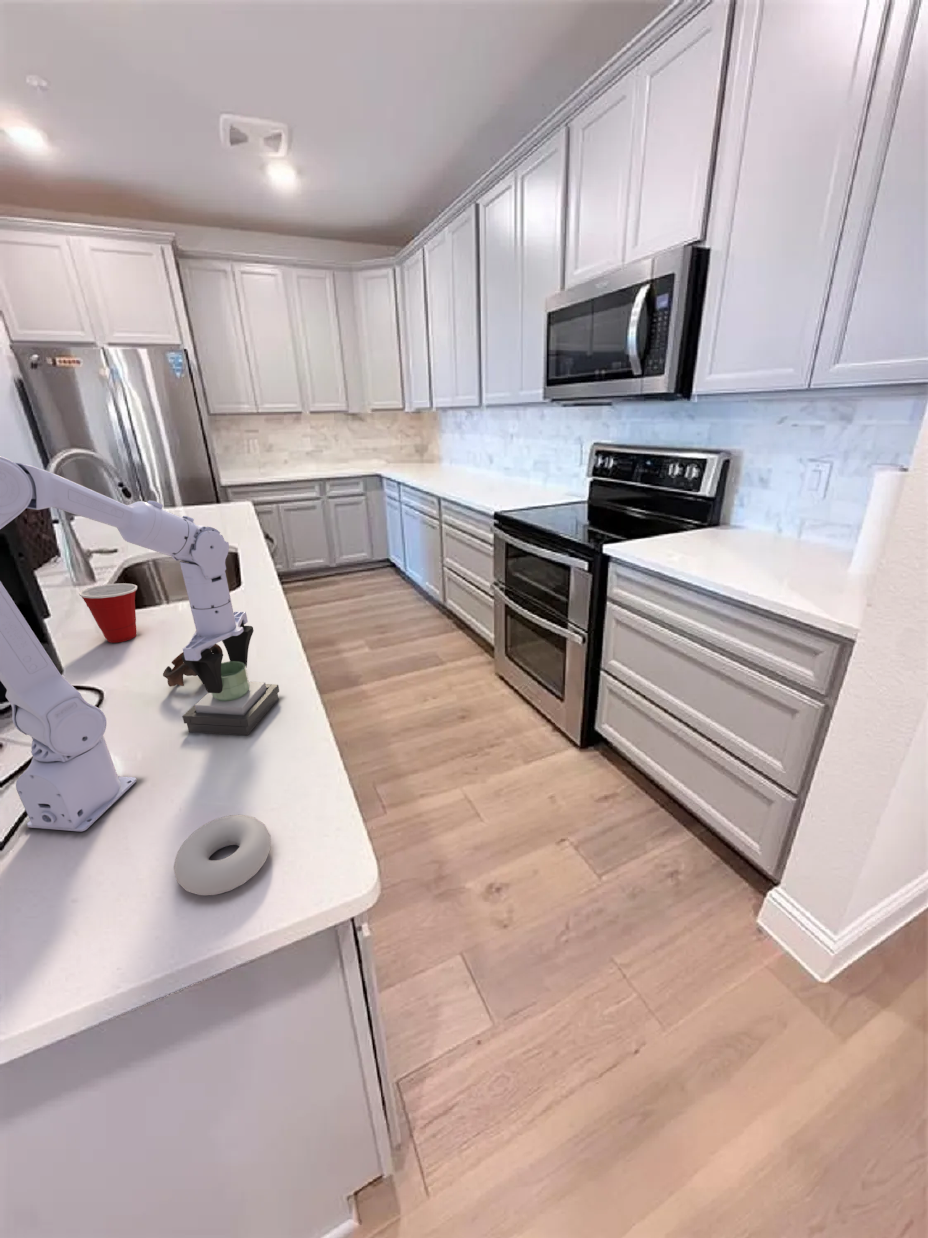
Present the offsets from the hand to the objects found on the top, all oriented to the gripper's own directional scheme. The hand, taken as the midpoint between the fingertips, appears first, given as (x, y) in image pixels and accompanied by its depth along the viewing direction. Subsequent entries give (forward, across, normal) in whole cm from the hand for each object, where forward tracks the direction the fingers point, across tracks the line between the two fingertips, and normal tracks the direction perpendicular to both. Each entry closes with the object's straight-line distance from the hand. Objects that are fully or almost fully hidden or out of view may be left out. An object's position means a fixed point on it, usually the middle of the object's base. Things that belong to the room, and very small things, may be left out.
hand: (228, 679), depth 83 cm
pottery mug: (+7, +10, +12) cm, 17 cm away
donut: (+7, -29, -15) cm, 33 cm away
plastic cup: (+7, +28, +43) cm, 52 cm away
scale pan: (+4, 0, 0) cm, 4 cm away
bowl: (+2, 0, 0) cm, 3 cm away
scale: (+7, 0, 0) cm, 7 cm away
